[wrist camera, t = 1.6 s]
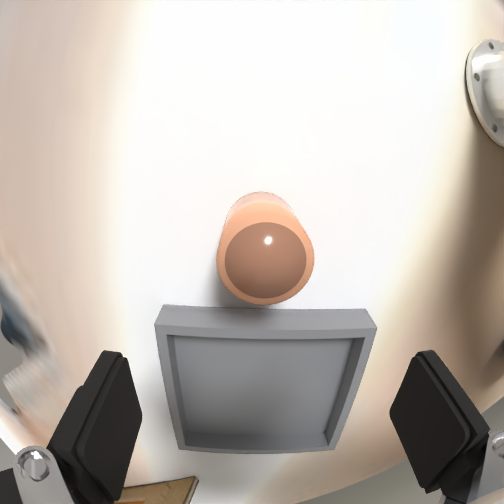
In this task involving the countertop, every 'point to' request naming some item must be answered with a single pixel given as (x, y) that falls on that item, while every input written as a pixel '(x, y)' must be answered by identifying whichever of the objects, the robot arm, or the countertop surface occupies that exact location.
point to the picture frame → (160, 493)
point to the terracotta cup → (264, 250)
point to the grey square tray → (261, 376)
